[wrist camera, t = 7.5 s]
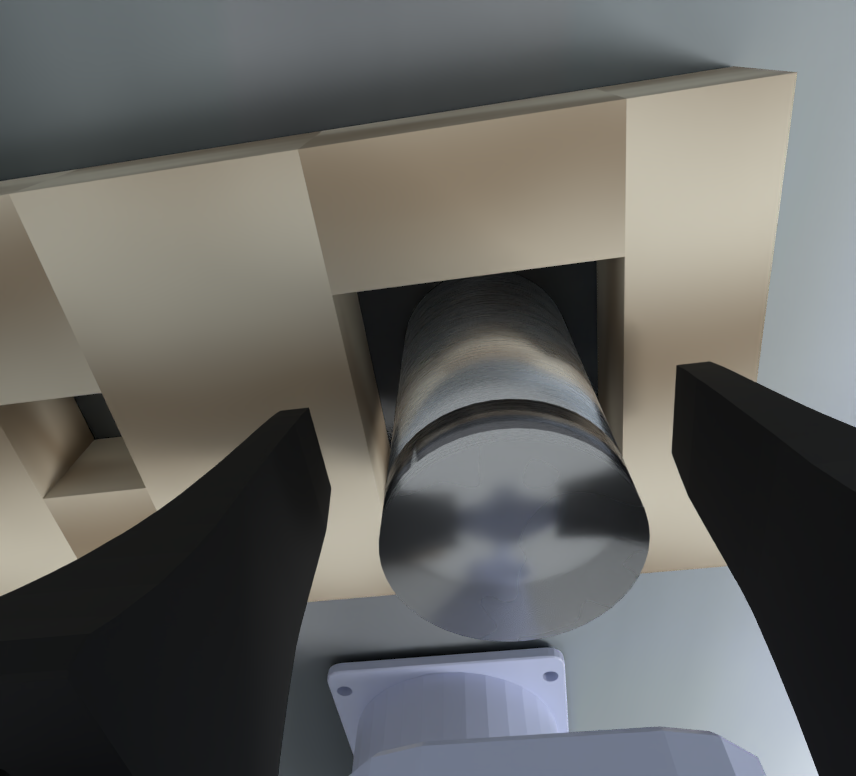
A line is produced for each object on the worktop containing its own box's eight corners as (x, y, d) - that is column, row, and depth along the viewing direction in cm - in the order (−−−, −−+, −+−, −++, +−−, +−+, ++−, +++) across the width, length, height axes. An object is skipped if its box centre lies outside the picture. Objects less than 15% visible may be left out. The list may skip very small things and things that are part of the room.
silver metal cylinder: (571, 404, 16) (649, 628, 10) (419, 425, 16) (405, 651, 10) (561, 256, 14) (650, 421, 8) (390, 284, 15) (351, 461, 8)
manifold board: (696, 500, 17) (732, 565, 15) (37, 562, 19) (-14, 629, 17) (733, 66, 12) (796, 72, 10) (-183, 210, 14) (-298, 241, 12)
